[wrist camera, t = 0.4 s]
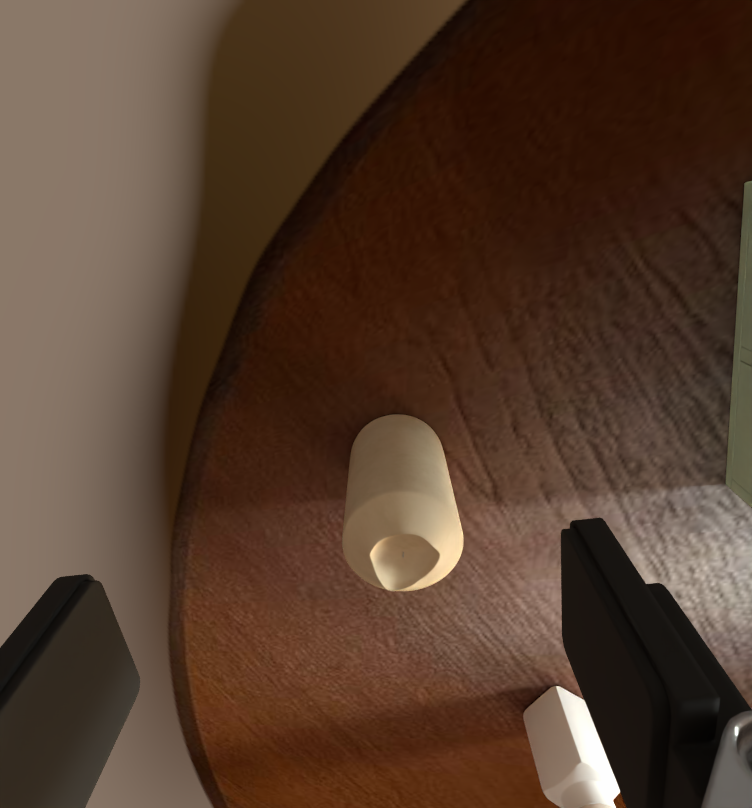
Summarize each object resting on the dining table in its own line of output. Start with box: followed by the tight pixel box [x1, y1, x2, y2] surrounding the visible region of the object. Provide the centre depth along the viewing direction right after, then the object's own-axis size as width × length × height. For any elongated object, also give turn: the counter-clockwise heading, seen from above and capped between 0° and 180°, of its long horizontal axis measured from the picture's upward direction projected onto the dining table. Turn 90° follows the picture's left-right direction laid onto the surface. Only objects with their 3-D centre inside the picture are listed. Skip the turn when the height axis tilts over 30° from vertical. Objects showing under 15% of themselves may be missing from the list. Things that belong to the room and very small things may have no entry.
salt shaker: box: [523, 686, 620, 808], centre depth 37 cm, size 4×4×10 cm
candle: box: [342, 414, 463, 591], centre depth 28 cm, size 6×6×10 cm
